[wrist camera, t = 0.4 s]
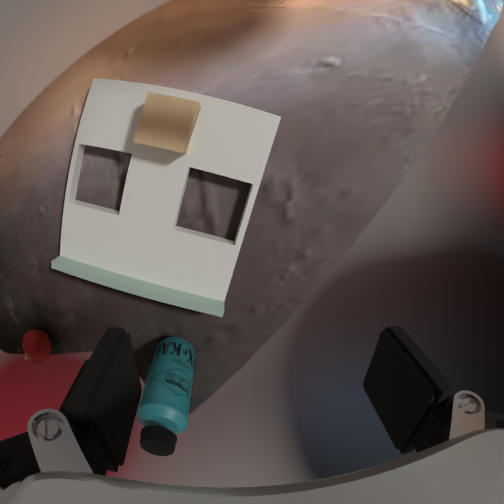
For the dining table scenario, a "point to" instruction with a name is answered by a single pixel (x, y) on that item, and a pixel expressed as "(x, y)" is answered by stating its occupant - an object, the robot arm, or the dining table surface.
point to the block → (167, 122)
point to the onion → (36, 345)
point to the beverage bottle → (166, 396)
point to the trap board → (160, 198)
